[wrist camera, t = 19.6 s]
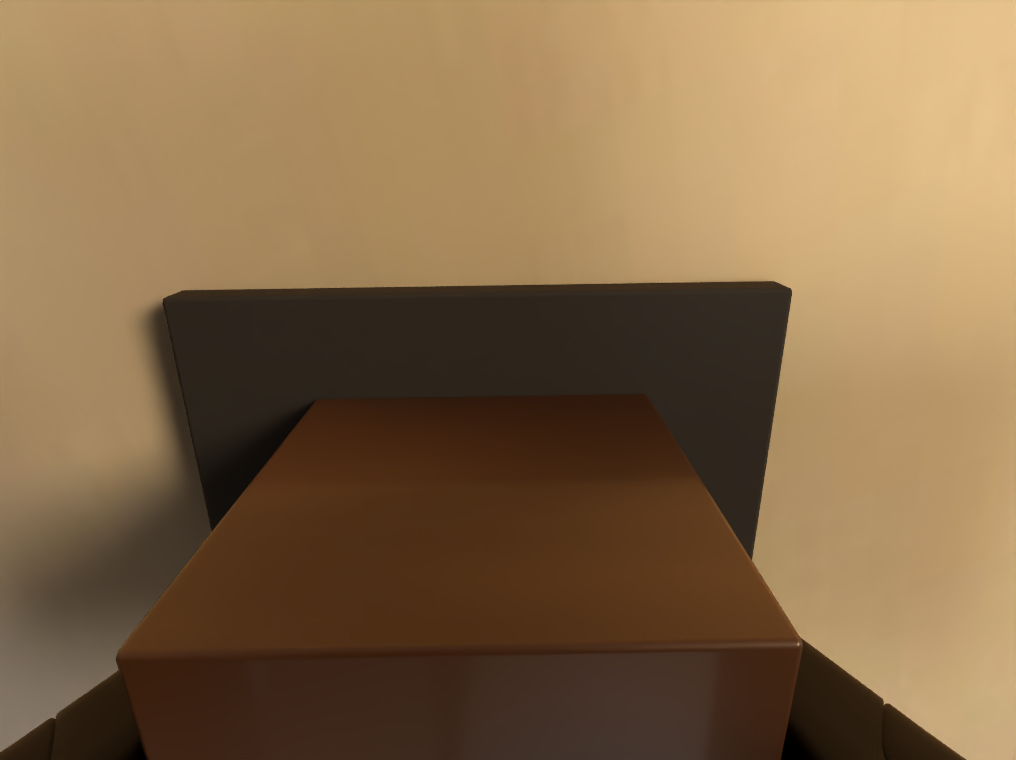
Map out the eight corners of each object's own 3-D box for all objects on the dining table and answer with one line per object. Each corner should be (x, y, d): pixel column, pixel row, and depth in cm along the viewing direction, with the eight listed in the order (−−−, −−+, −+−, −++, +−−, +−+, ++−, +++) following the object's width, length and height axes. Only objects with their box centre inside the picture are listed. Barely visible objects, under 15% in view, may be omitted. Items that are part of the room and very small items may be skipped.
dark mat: (777, 280, 9) (794, 287, 8) (719, 685, 12) (730, 711, 11) (180, 289, 9) (159, 297, 8) (262, 693, 12) (250, 719, 11)
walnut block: (648, 391, 9) (808, 643, 4) (629, 652, 11) (730, 1036, 6) (315, 397, 9) (109, 654, 4) (349, 657, 11) (231, 1045, 6)
